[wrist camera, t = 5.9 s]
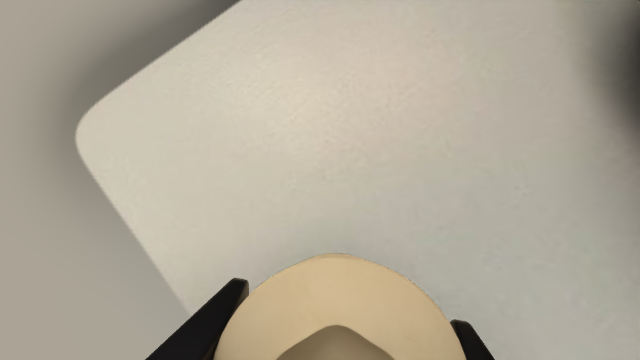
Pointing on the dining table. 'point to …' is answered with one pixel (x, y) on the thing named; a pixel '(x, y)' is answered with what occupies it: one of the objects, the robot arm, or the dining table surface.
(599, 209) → the dining table surface
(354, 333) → the candle
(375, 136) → the dining table surface
